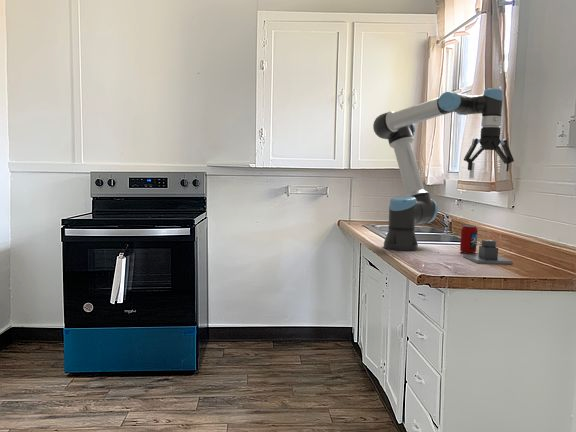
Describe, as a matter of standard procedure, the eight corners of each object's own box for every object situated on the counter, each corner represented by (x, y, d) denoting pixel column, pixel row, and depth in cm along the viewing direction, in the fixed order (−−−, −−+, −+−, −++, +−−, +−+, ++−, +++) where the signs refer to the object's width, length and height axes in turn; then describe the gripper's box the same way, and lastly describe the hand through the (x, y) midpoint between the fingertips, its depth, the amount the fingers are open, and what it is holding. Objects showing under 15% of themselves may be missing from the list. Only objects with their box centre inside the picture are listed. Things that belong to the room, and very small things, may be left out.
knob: (478, 256, 205) (479, 238, 204) (491, 256, 205) (492, 239, 205) (484, 258, 200) (485, 240, 199) (497, 259, 200) (498, 241, 199)
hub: (463, 257, 210) (463, 245, 209) (495, 257, 210) (496, 245, 210) (477, 263, 196) (478, 250, 195) (512, 264, 196) (513, 251, 196)
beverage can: (476, 254, 218) (478, 226, 217) (459, 253, 220) (461, 225, 219) (475, 252, 224) (477, 225, 223) (459, 250, 226) (461, 224, 225)
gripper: (464, 125, 203) (461, 178, 205) (525, 127, 204) (521, 180, 206) (457, 127, 210) (454, 177, 212) (515, 129, 211) (512, 179, 213)
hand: (487, 179), depth 209 cm, fingers open, 13 cm apart
